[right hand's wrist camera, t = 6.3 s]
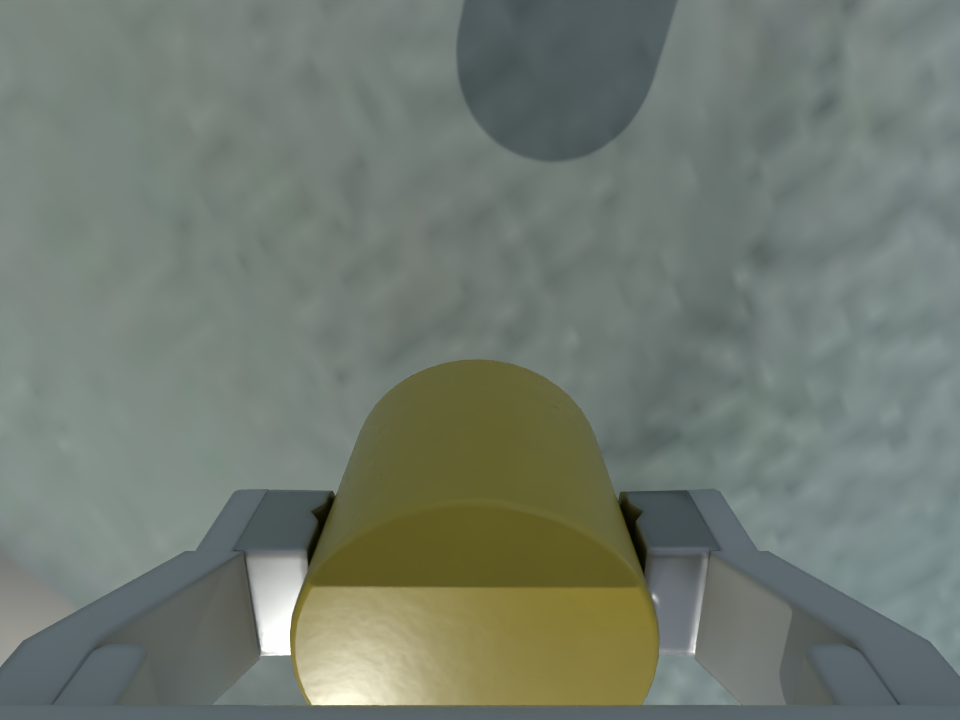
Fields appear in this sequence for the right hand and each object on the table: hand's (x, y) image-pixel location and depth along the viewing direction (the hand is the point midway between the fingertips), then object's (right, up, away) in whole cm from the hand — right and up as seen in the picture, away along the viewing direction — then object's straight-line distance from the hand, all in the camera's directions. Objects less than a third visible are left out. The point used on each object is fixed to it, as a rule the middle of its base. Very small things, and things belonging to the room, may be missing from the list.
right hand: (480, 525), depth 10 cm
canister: (0, +1, +2) cm, 2 cm away
